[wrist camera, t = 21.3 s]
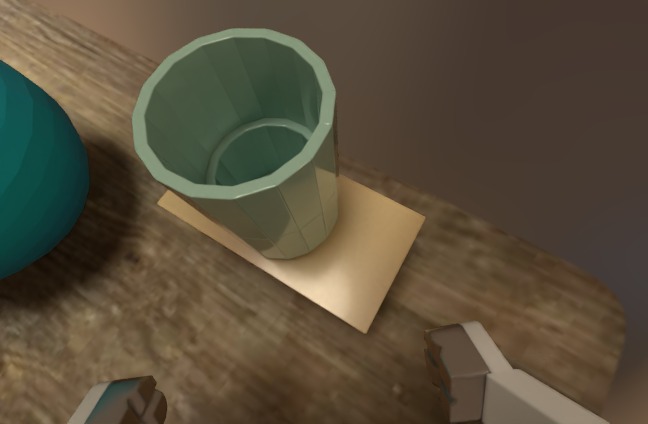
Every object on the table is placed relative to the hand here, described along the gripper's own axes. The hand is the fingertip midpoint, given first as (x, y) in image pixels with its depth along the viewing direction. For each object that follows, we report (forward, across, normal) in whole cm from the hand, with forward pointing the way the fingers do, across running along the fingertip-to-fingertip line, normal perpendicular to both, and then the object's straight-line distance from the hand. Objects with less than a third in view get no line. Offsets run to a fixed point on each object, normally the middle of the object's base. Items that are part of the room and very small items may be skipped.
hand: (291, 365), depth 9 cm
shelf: (+14, 0, +3) cm, 14 cm away
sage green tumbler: (+10, 0, -1) cm, 10 cm away
